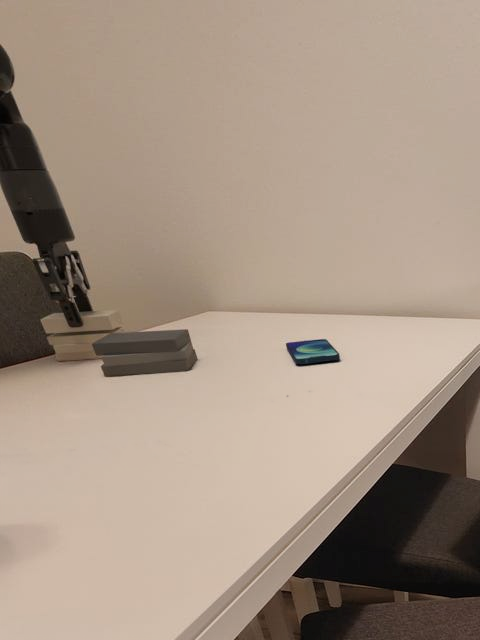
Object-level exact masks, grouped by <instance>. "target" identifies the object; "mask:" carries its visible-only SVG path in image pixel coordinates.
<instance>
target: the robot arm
mask: <svg viewBox="0 0 480 640" xmlns="http://www.w3.org/2000/svg"><path fill="white" fill-rule="evenodd" d="M15 81H16V72H15V68H14V64H13V61H12V59H11V57H10V56H9V53H8V52H7V51H6V49H5V48H4V47H3V45H2V44H1V43H0V189H1V191H2V194H3V197H4V199H5V201H6V203H7V206H8V208H9V210H10V212H11V216H12V217H13V220H14V222H15V224H16V227H17V229H18V231H19V234H20V237H21V239H22V241H23V242H24V243H26V244H30V245H32V244H33V245H36V247H37V251H38V254H39V257H37V258H36V257H35V258H31V259H32V264H33V266H34V269H35V270H36V272H37V274H38V277H39V279H40V281H41V283H42V285H43V287H44V289H45V291H46V294H47V296H48V297H49V299H50V301H55V302H56V303H57V304H59V306H60V309H61V311H62V313H64V316H65V318H66V321H67V323H68V325H69V327H71V328H76V327H82V326H83V322H82V319H81V317H80V314H79V312H87V311H94V308H93V306H92V304H91V301H90V298H89V295H90V293H89V291H90V290H91V285H90V282H89V279H88V277H87V273H86V270H85V268H84V264H83V260H82V259H81V255H80V253H79V250H70V248H69V246H68V244H67V243H69V242H73V241H75V239H76V236H75V232H74V230H73V227H72V224H71V223H70V220H69V217H68V214H67V212H66V210H65V207H64V204H63V201H62V199H61V196H60V193H59V190H58V189H57V186H56V184H55V182H54V180H53V178H52V175H51V174H50V171H49V170H48V166H47V163H46V161H45V158H44V155H43V153H42V151H41V148H40V146H39V142H38V139H37V138H36V135H35V134H34V132H33V130H32V129H31V127H30V126H29V125H28V124H27V123H26V122H25V120H24V118H23V117H22V113H21V111H20V109H19V106H18V103H17V102H16V99H15V96H14V94H13V92H12V89H13V87H14V85H15Z"/></svg>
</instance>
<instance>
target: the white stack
mask: <svg viewBox="0 0 480 640" xmlns="http://www.w3.org/2000/svg"><path fill="white" fill-rule="evenodd" d="M124 332H126V331H125V327H124V326H117V327H116V328H114V329H113V330H97V331H80V332H63V333H51V334H50V335H48V336H46V340H47V342H48V344H49V345H50V346H52V348H53V350H54V351H55V353H54V355H55V357H56V359H57V362H69V361H84V360H97V359H102V356H103V355H102V356H96V354H95V352H94V349H93V347H92V343H94V342H95V341H97V340H99V339H101V338H103V337H104V336H106V335H108V334H110V333H124Z"/></svg>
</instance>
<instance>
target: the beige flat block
mask: <svg viewBox="0 0 480 640" xmlns="http://www.w3.org/2000/svg"><path fill="white" fill-rule="evenodd" d="M78 312H79V311H78ZM79 314H80V317H81V319H82V322H83V326H82V327H76V328H71V327H69V325H68V323H67V321H66V318H65V316H64V313H63V312H54V313H51V314H49V315H47V316H44V317H42V318H40V319H39V321H40V323H41V325H42V327H43V330H44V332H45V334H54V333H63V332H80V331H97V330H113V329H114V328H116V327H120V325H122V324H123V320H122V317H121V315H120V312H119V309H107V310H106V309H105V310H93V311H87V312H79Z"/></svg>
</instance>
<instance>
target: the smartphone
mask: <svg viewBox="0 0 480 640" xmlns="http://www.w3.org/2000/svg"><path fill="white" fill-rule="evenodd" d="M285 346H286V350H287V351H288V353H289V355H290V356H291V358H292V360H293V361H294V363H295V364H296V365H308V364H316V363H322V362H331V361H338V360H341V356H340V353H339V352H338V351H337V350H336V348H335V347H334V346H333V345H332V344H331V343H330V342H329V340H328V339H326V338H320V339H309V340H299V341H290V342H289V341H288V342H286V343H285Z"/></svg>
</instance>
